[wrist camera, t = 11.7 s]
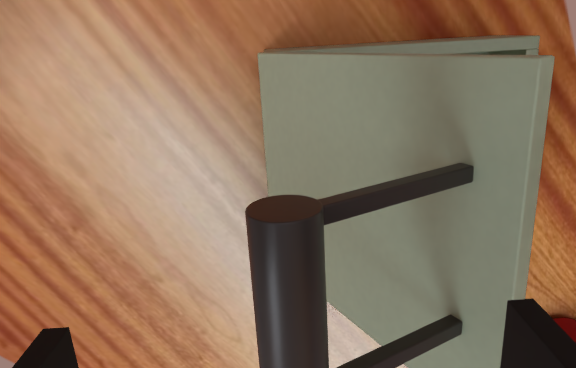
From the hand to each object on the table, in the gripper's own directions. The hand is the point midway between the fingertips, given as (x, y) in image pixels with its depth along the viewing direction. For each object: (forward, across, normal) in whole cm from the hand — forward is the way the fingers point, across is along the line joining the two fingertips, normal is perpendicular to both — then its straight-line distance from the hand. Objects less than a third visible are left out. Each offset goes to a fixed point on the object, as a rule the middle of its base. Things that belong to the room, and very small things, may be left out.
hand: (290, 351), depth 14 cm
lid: (+13, +4, 0) cm, 13 cm away
